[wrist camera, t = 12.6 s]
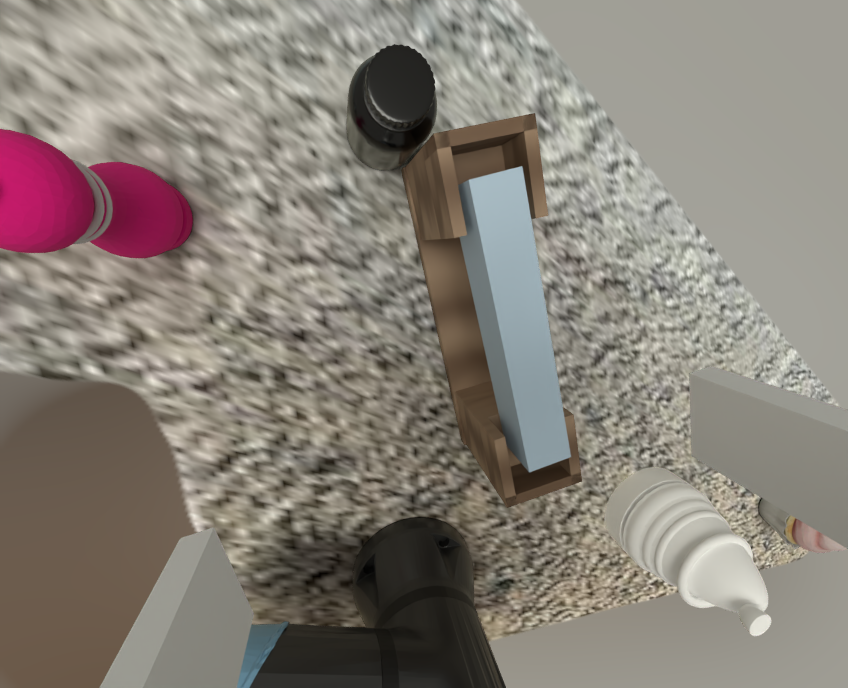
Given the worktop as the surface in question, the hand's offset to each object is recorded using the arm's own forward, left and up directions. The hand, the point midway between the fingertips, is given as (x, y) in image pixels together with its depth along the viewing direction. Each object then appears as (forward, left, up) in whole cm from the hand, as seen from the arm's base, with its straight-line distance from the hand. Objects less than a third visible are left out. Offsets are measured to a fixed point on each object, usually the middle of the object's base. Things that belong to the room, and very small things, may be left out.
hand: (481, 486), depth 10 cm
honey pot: (-38, -30, -33) cm, 59 cm away
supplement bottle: (+16, -5, -33) cm, 37 cm away
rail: (-3, -10, -24) cm, 26 cm away
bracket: (-3, -10, -33) cm, 34 cm away
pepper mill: (+13, +17, -33) cm, 39 cm away
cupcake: (-46, -53, -33) cm, 78 cm away
